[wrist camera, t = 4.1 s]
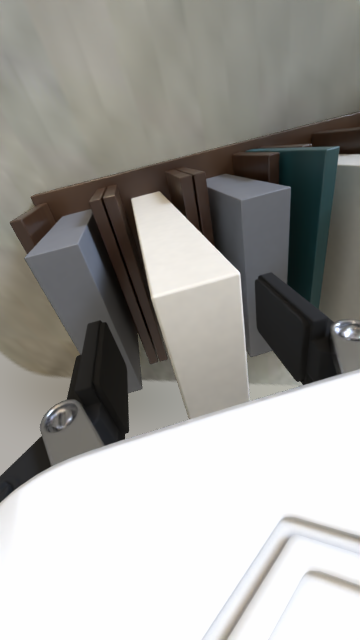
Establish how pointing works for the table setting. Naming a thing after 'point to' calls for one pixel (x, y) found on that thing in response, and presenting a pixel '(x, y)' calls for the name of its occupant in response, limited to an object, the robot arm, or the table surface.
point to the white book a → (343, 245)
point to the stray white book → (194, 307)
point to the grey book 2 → (251, 237)
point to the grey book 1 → (85, 286)
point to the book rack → (193, 202)
